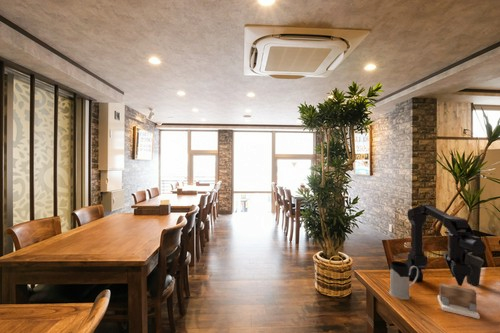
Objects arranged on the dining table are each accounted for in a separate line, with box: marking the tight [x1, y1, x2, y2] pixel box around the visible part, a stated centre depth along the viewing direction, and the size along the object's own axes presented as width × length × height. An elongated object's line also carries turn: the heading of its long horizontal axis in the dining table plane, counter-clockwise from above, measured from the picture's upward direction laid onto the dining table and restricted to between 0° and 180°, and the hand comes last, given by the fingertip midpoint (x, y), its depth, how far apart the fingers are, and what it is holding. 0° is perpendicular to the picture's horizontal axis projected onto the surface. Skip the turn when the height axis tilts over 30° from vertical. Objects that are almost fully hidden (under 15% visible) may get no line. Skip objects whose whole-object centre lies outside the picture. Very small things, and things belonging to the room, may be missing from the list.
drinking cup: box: [465, 262, 482, 287], centre depth 127 cm, size 8×8×20 cm
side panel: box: [437, 294, 480, 320], centre depth 105 cm, size 12×11×4 cm
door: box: [438, 282, 477, 308], centre depth 105 cm, size 12×3×7 cm, turn 60°
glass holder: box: [388, 260, 419, 301], centre depth 116 cm, size 9×14×15 cm, turn 95°
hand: (457, 281), depth 105 cm, fingers open, 9 cm apart
